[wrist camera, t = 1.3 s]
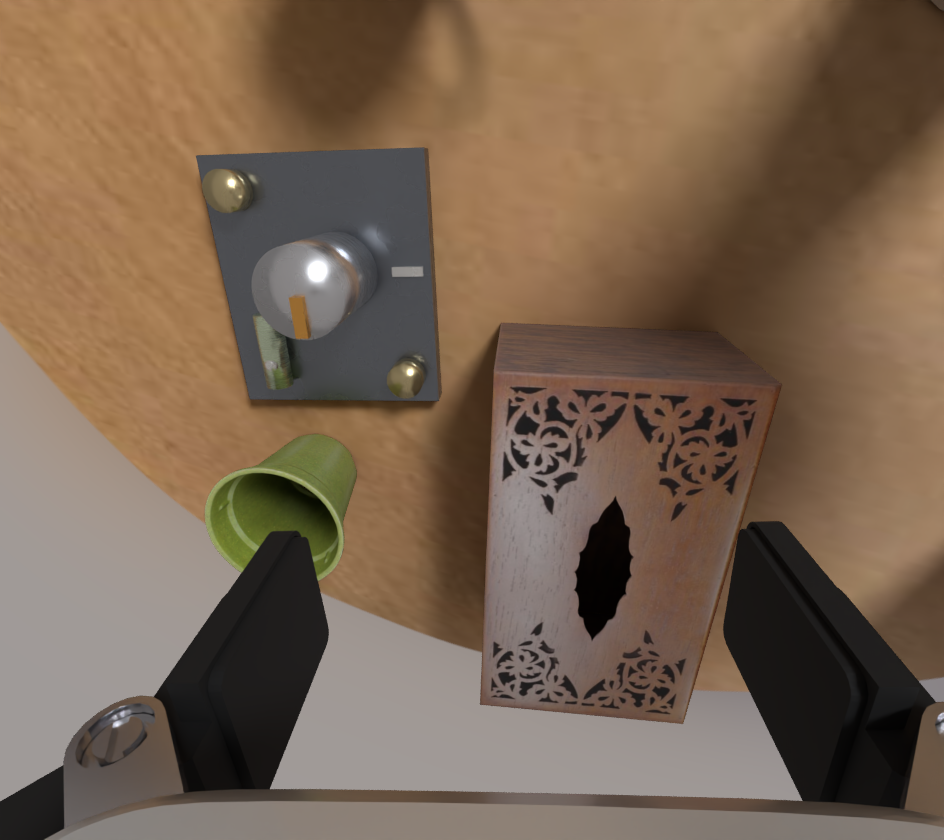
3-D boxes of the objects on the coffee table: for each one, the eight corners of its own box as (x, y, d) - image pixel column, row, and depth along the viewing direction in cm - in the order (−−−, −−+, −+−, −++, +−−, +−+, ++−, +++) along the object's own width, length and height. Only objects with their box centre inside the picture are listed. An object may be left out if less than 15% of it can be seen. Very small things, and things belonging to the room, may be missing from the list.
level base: (209, 156, 33) (176, 154, 30) (428, 148, 32) (417, 146, 29) (259, 391, 40) (236, 410, 37) (441, 393, 39) (434, 412, 35)
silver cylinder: (295, 232, 33) (238, 246, 26) (373, 230, 33) (334, 244, 26) (308, 310, 35) (258, 342, 29) (381, 310, 35) (347, 342, 28)
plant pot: (246, 480, 43) (185, 547, 36) (288, 391, 40) (230, 444, 32) (347, 532, 45) (310, 607, 37) (396, 450, 41) (366, 515, 33)
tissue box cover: (501, 321, 36) (493, 370, 27) (715, 331, 35) (781, 384, 26) (488, 603, 47) (480, 704, 38) (651, 616, 46) (683, 723, 37)
